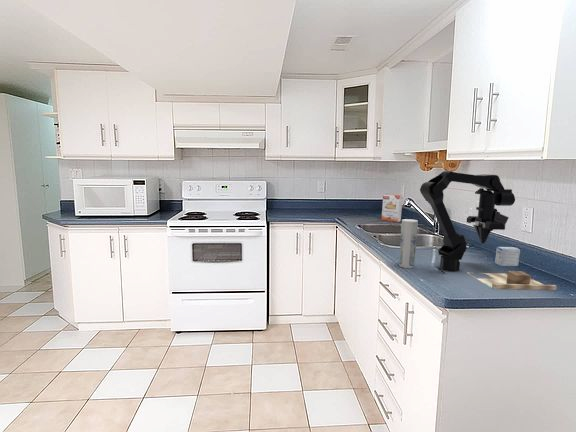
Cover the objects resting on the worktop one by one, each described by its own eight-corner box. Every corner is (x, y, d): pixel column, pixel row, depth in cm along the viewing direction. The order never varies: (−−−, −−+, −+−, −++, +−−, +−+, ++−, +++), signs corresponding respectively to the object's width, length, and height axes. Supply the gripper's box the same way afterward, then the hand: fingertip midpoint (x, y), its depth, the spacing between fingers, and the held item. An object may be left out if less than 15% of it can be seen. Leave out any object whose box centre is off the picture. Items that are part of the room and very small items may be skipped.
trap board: (493, 291, 127) (493, 284, 126) (466, 275, 146) (466, 269, 145) (555, 293, 127) (556, 285, 127) (520, 276, 146) (521, 270, 146)
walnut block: (515, 287, 129) (516, 275, 128) (506, 282, 134) (507, 271, 133) (529, 287, 129) (530, 275, 128) (519, 283, 134) (521, 271, 133)
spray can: (400, 263, 161) (403, 218, 159) (415, 265, 158) (419, 220, 156) (397, 266, 156) (400, 220, 153) (412, 269, 153) (416, 221, 150)
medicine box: (511, 266, 163) (513, 246, 162) (518, 268, 158) (520, 249, 157) (494, 265, 162) (496, 246, 161) (500, 268, 158) (502, 248, 157)
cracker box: (381, 220, 293) (382, 194, 290) (384, 219, 298) (386, 193, 295) (397, 222, 284) (399, 195, 281) (401, 221, 289) (402, 195, 286)
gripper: (521, 208, 139) (516, 248, 141) (493, 203, 158) (489, 239, 160) (492, 208, 139) (487, 248, 141) (467, 203, 158) (464, 238, 160)
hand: (482, 243), depth 151 cm, fingers closed
